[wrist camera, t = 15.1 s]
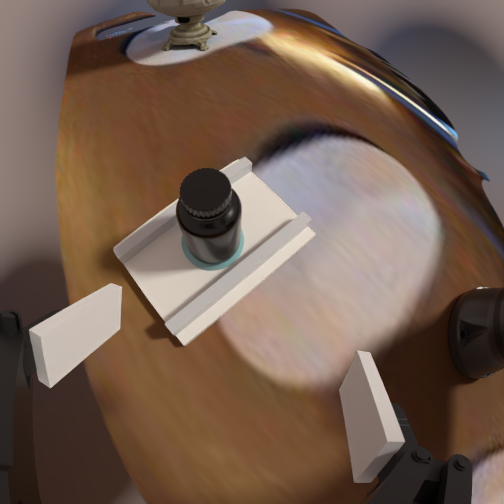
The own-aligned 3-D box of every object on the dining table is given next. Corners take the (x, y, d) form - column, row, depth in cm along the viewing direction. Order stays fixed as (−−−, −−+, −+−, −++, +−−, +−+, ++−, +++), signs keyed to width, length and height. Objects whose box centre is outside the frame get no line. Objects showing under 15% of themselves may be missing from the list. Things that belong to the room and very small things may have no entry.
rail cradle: (237, 164, 43) (238, 150, 40) (313, 237, 39) (320, 227, 36) (115, 251, 37) (107, 242, 34) (185, 346, 33) (180, 344, 30)
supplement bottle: (225, 208, 39) (224, 149, 27) (249, 251, 37) (258, 201, 25) (177, 230, 37) (159, 176, 26) (200, 275, 35) (186, 234, 24)
